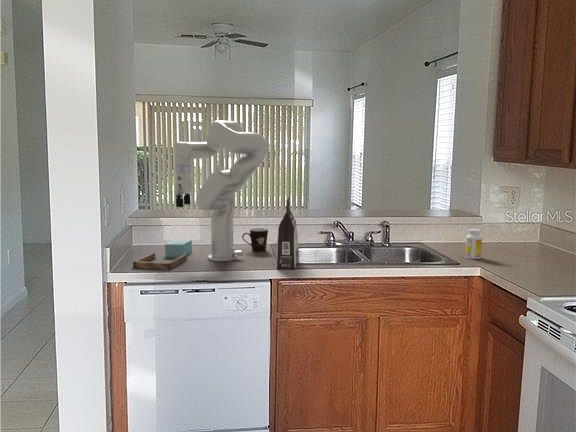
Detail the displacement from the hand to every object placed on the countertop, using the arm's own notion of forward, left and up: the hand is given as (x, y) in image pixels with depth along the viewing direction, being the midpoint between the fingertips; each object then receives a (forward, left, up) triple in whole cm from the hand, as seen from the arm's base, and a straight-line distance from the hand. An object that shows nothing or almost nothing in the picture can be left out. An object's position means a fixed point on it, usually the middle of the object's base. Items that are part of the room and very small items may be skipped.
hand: (183, 205), depth 244 cm
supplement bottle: (-132, -13, -21) cm, 134 cm away
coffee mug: (-33, -7, -21) cm, 40 cm away
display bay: (-1, +28, -21) cm, 35 cm away
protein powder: (-53, +18, -21) cm, 60 cm away
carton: (-1, +9, -22) cm, 23 cm away
